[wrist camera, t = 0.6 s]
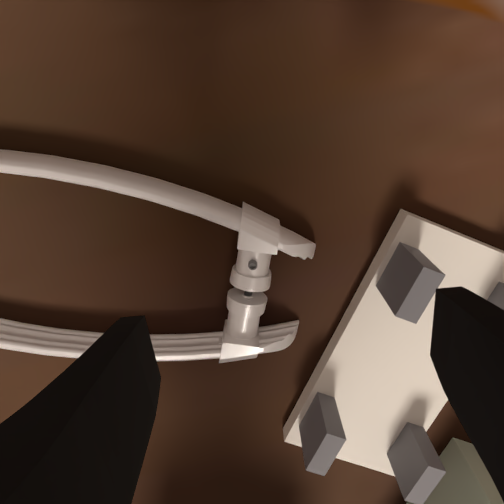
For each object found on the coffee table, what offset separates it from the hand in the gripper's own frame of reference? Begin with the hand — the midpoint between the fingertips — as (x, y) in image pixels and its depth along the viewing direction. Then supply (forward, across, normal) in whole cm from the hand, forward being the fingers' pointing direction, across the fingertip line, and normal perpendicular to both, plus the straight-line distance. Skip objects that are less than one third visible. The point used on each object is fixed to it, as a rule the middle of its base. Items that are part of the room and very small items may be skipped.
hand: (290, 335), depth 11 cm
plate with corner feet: (+10, -6, +9) cm, 15 cm away
